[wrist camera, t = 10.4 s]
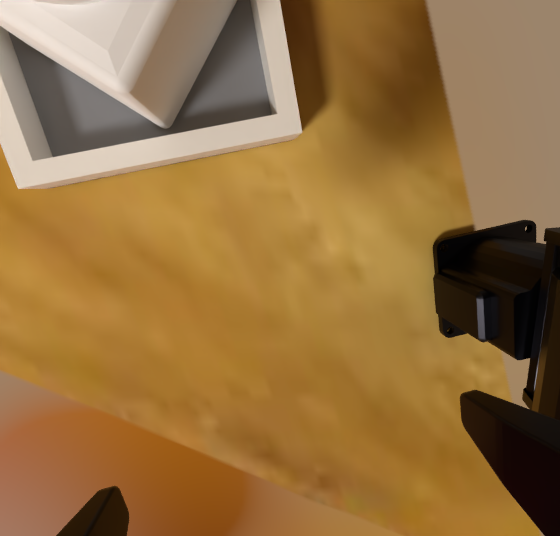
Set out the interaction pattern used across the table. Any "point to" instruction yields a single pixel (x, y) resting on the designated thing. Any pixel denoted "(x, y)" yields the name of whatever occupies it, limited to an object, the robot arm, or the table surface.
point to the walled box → (136, 128)
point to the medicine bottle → (125, 45)
